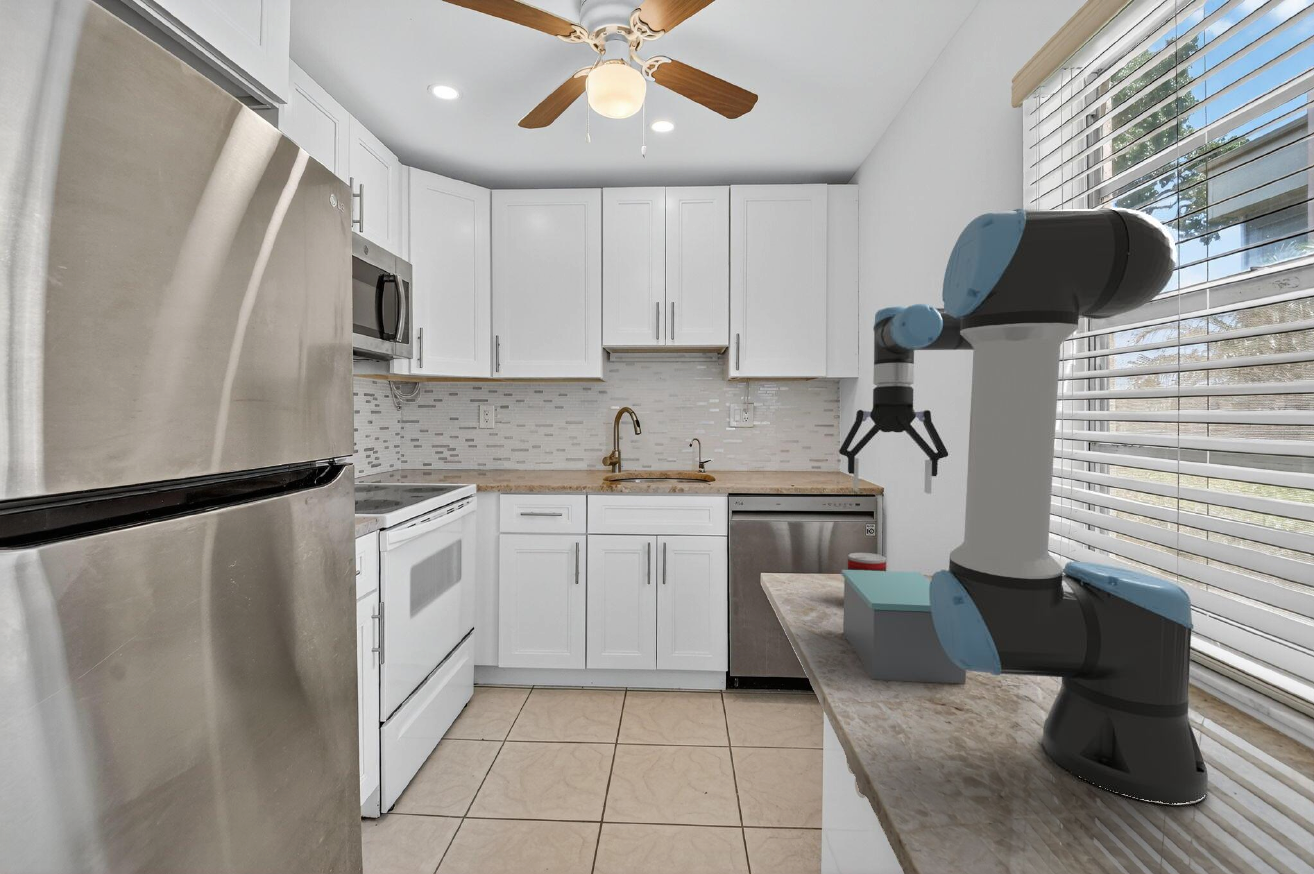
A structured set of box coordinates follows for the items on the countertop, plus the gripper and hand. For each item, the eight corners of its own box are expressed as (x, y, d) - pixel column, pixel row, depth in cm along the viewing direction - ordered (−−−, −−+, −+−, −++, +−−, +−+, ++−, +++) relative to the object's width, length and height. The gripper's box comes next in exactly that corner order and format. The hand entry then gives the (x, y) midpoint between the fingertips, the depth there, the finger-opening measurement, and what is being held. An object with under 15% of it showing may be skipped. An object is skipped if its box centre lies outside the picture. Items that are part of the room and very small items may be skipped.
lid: (1003, 656, 88) (1005, 602, 88) (870, 650, 90) (871, 596, 89) (948, 612, 108) (949, 568, 108) (840, 608, 110) (841, 564, 110)
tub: (965, 684, 89) (967, 614, 88) (872, 679, 90) (874, 610, 90) (918, 636, 109) (919, 579, 108) (843, 632, 110) (844, 576, 110)
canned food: (840, 601, 129) (840, 553, 129) (869, 598, 132) (870, 551, 132) (861, 612, 122) (862, 561, 122) (892, 609, 124) (893, 559, 124)
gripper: (957, 387, 115) (954, 492, 115) (828, 388, 122) (826, 487, 122) (966, 384, 108) (964, 496, 108) (828, 385, 114) (827, 490, 115)
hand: (891, 491), depth 115 cm, fingers open, 13 cm apart
